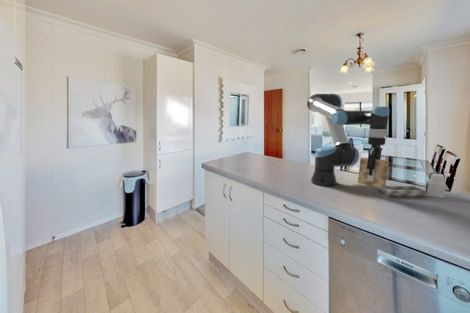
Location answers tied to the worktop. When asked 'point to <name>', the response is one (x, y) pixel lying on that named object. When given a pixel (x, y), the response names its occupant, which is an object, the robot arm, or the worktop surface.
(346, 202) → the worktop surface
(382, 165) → the door slab
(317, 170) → the robot arm
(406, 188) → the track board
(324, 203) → the worktop surface
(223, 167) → the worktop surface
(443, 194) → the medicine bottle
